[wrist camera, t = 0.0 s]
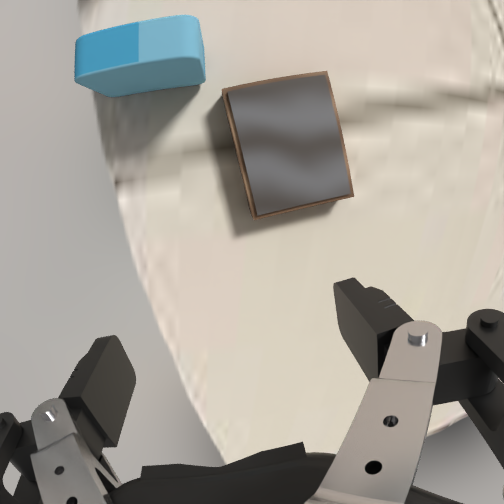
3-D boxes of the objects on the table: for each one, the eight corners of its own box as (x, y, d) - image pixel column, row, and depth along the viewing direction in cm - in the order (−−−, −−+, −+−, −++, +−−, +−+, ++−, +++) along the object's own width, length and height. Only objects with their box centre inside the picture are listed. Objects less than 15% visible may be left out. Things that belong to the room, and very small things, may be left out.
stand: (221, 94, 35) (221, 88, 31) (318, 77, 35) (328, 70, 31) (251, 214, 40) (254, 220, 36) (343, 192, 40) (355, 197, 36)
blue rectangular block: (204, 50, 33) (197, 11, 22) (206, 84, 35) (199, 56, 23) (109, 65, 32) (70, 38, 21) (110, 98, 34) (68, 81, 22)
